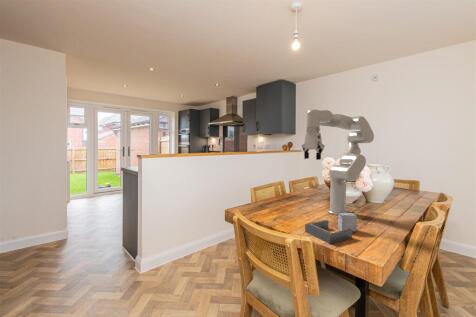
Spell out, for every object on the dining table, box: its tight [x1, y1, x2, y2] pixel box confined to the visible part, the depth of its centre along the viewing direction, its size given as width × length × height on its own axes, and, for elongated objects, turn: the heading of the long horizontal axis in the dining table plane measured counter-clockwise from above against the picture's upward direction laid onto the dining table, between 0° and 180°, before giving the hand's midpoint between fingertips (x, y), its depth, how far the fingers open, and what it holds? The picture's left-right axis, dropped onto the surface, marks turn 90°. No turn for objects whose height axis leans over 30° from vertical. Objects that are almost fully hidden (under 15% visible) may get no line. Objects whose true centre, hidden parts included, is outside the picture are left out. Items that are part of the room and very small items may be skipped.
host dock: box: [304, 219, 353, 245], centre depth 113 cm, size 15×16×5 cm
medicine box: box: [337, 212, 358, 232], centre depth 119 cm, size 8×4×9 cm, turn 92°
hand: (312, 159), depth 137 cm, fingers open, 9 cm apart
